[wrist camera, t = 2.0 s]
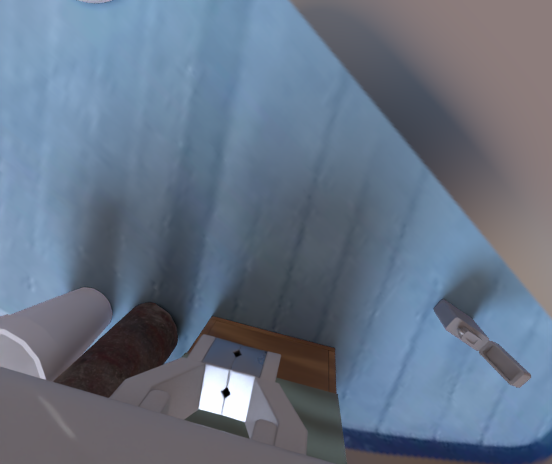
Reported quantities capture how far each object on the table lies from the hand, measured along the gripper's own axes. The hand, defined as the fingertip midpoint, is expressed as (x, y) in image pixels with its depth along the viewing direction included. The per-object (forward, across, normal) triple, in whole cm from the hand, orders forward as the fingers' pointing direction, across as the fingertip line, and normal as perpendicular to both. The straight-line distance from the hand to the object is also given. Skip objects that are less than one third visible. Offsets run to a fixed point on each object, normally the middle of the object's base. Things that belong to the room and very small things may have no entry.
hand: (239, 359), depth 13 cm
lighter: (+27, -21, +8) cm, 35 cm away
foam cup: (+27, +24, +18) cm, 41 cm away
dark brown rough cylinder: (+27, +15, +19) cm, 36 cm away
